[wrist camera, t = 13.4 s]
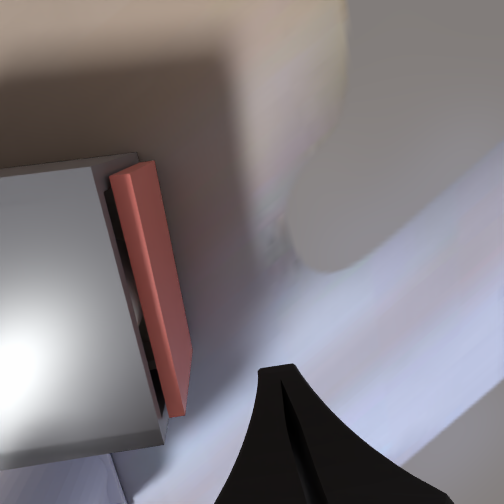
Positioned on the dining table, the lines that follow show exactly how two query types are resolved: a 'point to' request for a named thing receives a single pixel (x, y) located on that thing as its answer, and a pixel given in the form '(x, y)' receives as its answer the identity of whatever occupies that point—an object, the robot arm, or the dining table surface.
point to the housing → (69, 321)
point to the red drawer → (153, 278)
